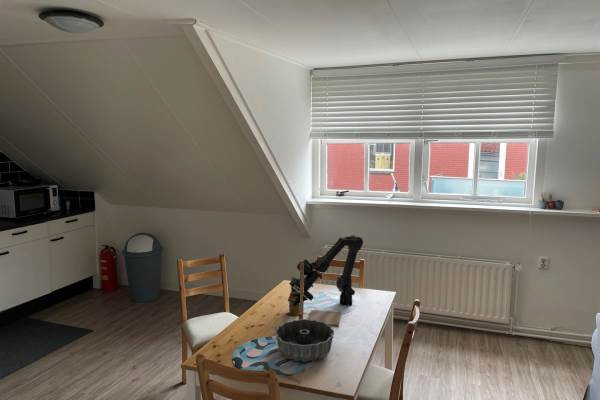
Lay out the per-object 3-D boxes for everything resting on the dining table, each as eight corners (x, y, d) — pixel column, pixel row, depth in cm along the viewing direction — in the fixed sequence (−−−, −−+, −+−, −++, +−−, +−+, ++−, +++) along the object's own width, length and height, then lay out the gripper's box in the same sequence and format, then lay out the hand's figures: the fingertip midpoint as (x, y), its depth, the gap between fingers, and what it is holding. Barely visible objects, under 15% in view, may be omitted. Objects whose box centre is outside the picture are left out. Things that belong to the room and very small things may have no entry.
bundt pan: (262, 351, 197) (262, 330, 195) (304, 333, 215) (304, 313, 213) (304, 375, 178) (304, 352, 177) (346, 352, 196) (346, 331, 195)
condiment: (303, 314, 237) (303, 292, 235) (292, 318, 231) (292, 297, 229) (294, 310, 242) (294, 289, 240) (282, 314, 236) (282, 293, 234)
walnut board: (340, 314, 237) (341, 311, 237) (338, 326, 222) (338, 324, 222) (311, 311, 240) (311, 309, 240) (307, 324, 224) (307, 322, 224)
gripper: (292, 266, 243) (274, 289, 240) (308, 276, 226) (288, 300, 223) (305, 278, 248) (287, 300, 244) (321, 288, 231) (302, 312, 228)
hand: (290, 303), depth 235 cm, fingers closed on condiment, 6 cm apart
